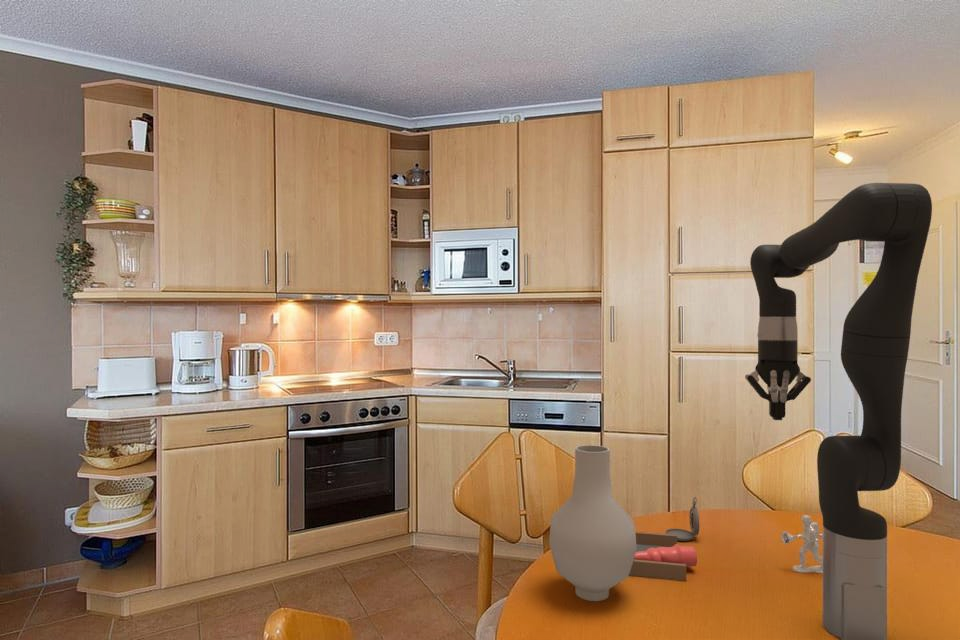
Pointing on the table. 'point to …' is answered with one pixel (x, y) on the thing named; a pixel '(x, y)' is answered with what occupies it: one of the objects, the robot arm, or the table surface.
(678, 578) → the tray
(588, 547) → the vase
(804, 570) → the figurine
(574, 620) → the table surface
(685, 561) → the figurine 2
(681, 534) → the pocket watch
